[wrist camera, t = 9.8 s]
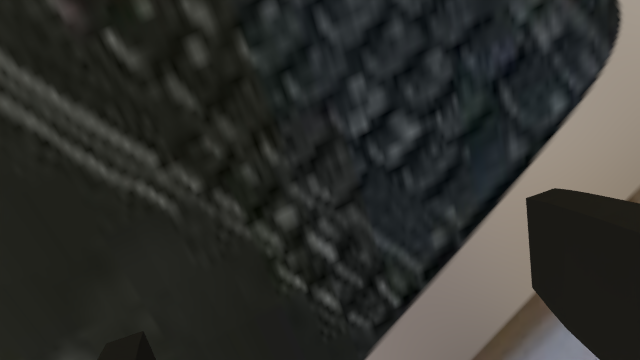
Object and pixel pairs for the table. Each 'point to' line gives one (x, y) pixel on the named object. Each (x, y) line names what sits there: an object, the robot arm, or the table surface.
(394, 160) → the table surface
